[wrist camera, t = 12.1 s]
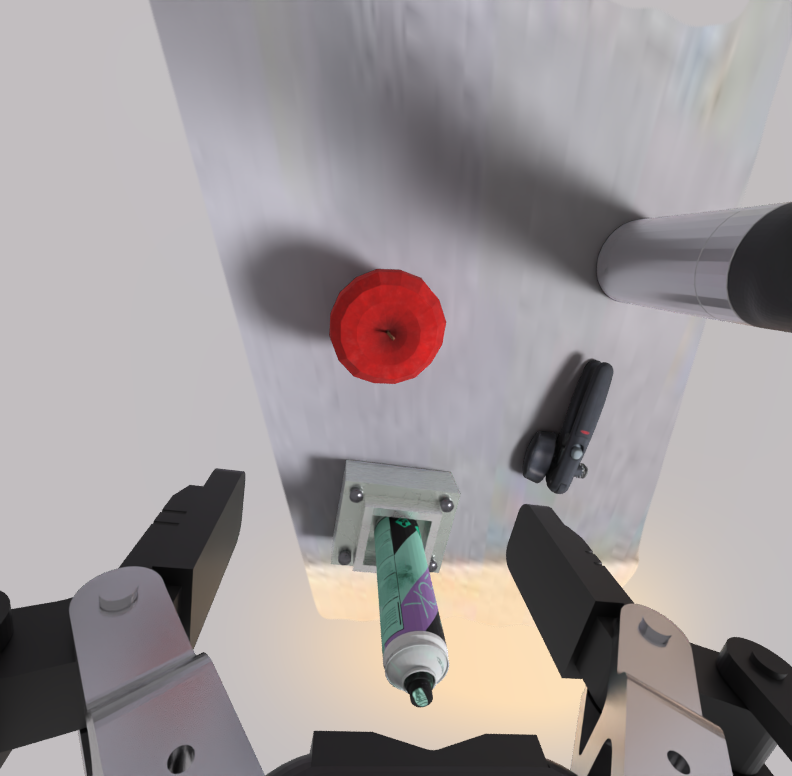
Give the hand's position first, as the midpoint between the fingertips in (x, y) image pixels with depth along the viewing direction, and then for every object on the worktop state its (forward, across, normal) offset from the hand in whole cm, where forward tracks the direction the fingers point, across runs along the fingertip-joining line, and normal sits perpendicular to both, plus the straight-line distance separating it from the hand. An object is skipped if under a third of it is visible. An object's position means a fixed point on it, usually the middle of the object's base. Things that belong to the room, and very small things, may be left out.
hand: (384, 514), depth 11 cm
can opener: (+36, -28, +8) cm, 47 cm away
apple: (+36, -2, -1) cm, 36 cm away
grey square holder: (+36, -8, +24) cm, 44 cm away
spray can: (+31, -8, +24) cm, 40 cm away
